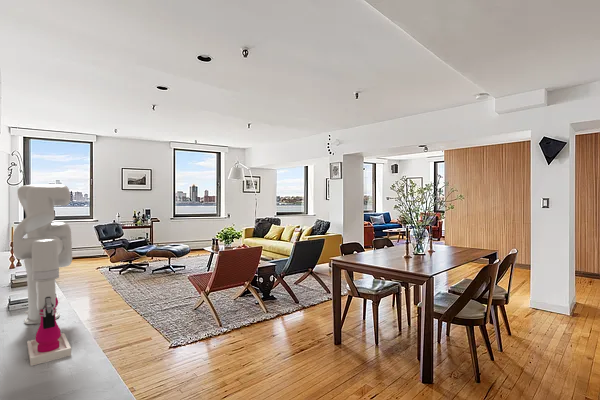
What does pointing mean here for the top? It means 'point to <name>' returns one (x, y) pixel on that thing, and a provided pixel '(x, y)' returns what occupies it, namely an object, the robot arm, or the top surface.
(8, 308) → the top surface
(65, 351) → the tray
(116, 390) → the top surface
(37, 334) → the pepper mill
